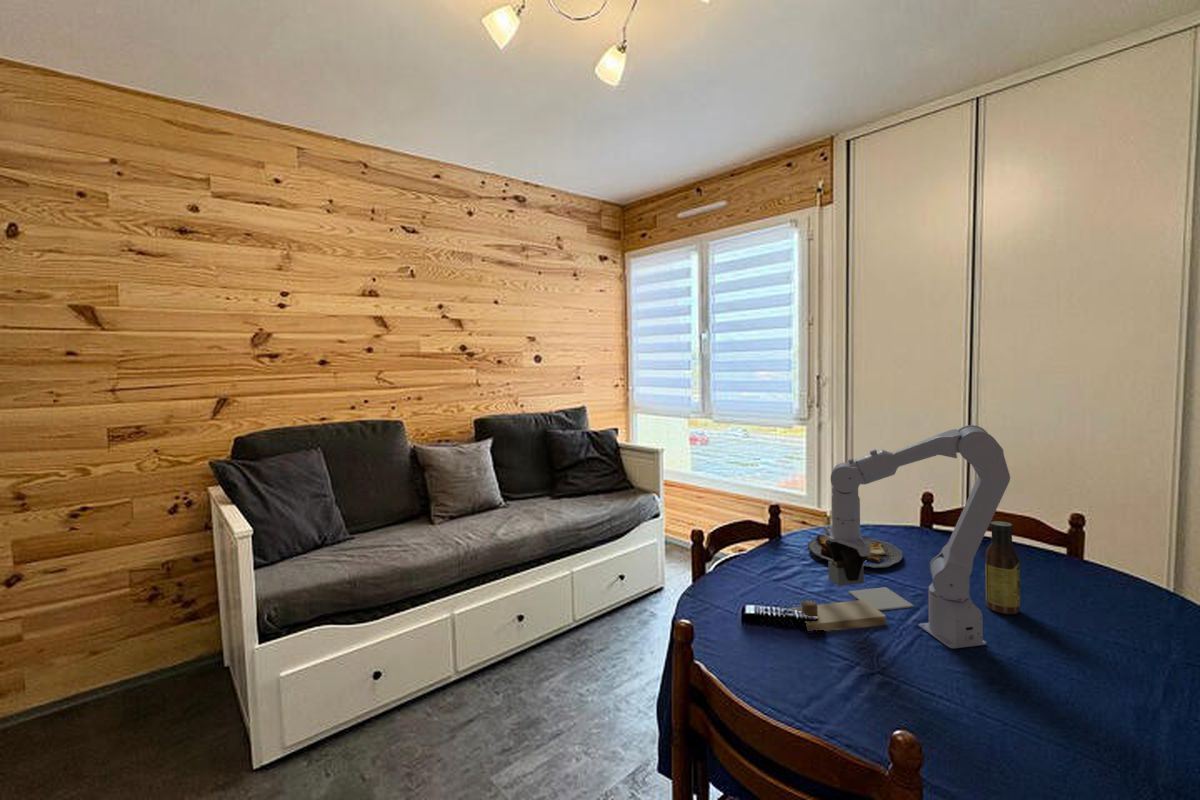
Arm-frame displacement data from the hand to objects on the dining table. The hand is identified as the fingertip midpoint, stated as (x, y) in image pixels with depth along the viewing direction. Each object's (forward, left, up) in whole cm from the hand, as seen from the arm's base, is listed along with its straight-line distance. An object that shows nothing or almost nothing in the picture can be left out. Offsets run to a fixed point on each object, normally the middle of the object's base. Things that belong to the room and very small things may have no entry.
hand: (846, 575), depth 121 cm
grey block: (0, 0, -1) cm, 1 cm away
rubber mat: (+6, -12, -10) cm, 17 cm away
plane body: (-1, +3, -10) cm, 10 cm away
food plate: (+33, -22, -10) cm, 41 cm away
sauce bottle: (-4, -35, -10) cm, 37 cm away
